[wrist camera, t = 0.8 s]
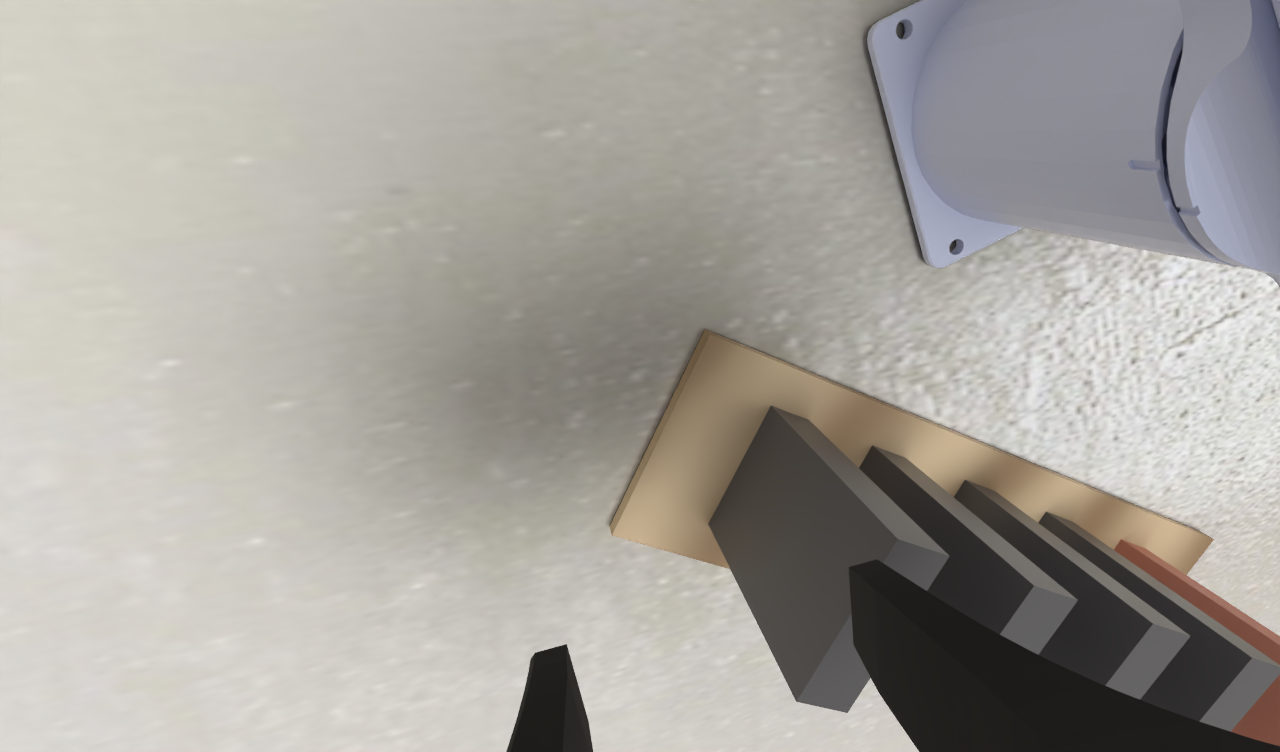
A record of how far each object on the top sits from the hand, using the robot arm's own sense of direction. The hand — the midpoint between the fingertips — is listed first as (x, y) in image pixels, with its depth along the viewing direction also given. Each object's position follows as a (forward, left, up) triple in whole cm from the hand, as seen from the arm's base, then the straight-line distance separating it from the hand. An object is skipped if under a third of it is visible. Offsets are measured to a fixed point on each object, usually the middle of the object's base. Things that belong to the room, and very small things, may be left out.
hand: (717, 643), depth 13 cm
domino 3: (-9, +10, -10) cm, 17 cm away
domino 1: (-3, +4, -10) cm, 11 cm away
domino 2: (-6, +7, -10) cm, 14 cm away
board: (-9, +10, -10) cm, 17 cm away
